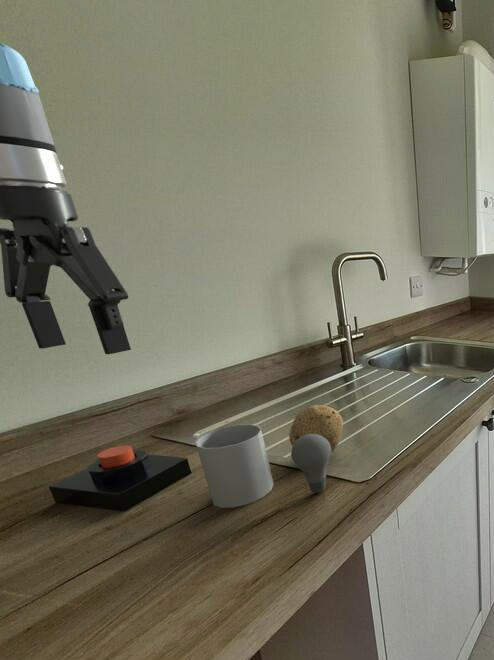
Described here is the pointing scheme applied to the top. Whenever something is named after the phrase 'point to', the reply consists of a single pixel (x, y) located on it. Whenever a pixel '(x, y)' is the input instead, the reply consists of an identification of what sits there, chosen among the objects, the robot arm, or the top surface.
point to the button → (116, 456)
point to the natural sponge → (318, 424)
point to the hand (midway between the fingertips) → (84, 349)
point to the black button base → (121, 482)
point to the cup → (235, 465)
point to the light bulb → (312, 459)
